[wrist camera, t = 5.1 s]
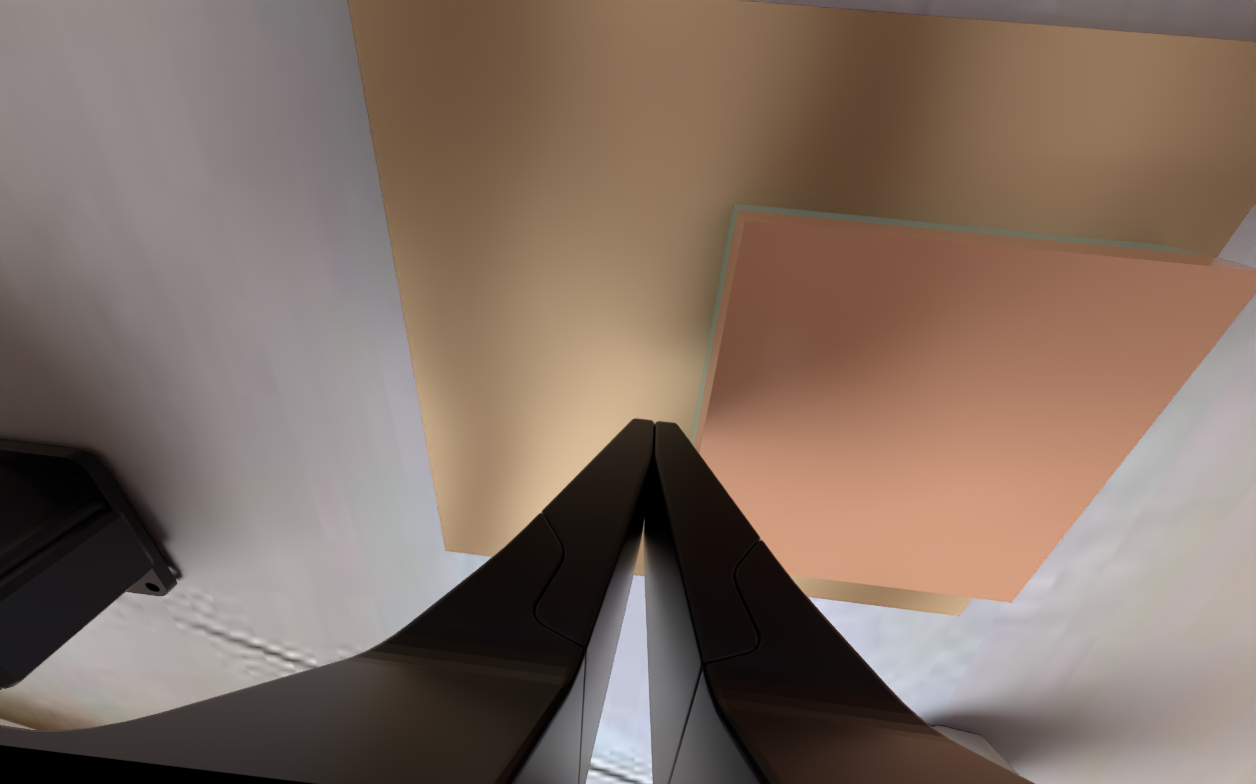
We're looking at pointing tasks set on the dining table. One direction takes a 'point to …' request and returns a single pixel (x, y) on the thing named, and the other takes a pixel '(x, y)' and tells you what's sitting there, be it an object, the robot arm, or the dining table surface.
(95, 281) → the dining table surface
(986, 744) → the salt shaker
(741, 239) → the tile
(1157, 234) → the cork mat
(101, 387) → the dining table surface
